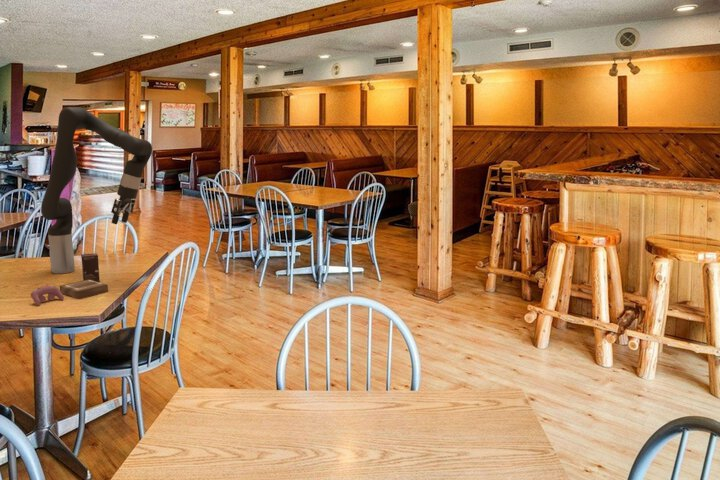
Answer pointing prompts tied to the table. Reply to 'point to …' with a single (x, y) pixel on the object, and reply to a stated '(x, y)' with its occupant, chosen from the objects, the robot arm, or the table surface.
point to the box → (90, 267)
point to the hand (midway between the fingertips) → (119, 222)
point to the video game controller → (50, 290)
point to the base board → (84, 288)
